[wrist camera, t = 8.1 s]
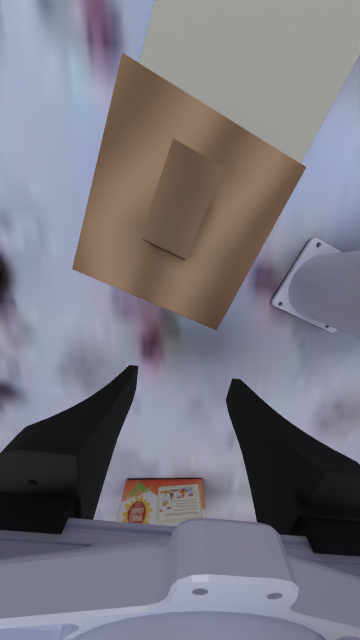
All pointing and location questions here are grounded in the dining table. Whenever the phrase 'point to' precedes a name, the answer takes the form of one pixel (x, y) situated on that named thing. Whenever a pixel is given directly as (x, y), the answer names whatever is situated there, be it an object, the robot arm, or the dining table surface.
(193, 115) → the lid
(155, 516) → the cracker box
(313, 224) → the dining table surface
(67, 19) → the dining table surface
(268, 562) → the robot arm
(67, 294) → the dining table surface
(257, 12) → the mat
